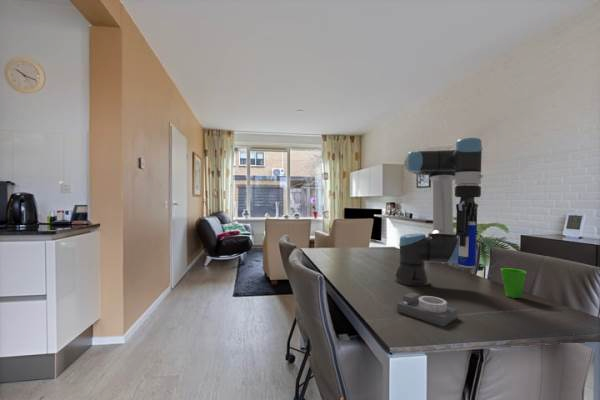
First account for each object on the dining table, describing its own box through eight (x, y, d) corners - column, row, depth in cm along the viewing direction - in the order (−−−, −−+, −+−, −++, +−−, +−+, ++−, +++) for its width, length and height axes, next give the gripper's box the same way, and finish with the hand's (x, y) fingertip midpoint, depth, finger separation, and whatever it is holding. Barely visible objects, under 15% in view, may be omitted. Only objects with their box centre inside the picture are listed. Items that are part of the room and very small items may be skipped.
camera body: (396, 311, 103) (397, 295, 103) (412, 304, 110) (412, 290, 110) (443, 326, 91) (443, 309, 91) (457, 317, 98) (457, 301, 98)
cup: (531, 301, 116) (532, 273, 116) (506, 299, 118) (506, 272, 118) (519, 294, 125) (519, 268, 125) (495, 292, 127) (496, 267, 127)
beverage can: (454, 264, 99) (455, 220, 99) (468, 264, 100) (469, 220, 100) (464, 268, 94) (465, 222, 94) (479, 268, 95) (480, 222, 95)
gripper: (471, 183, 88) (469, 260, 88) (488, 186, 100) (487, 253, 100) (445, 184, 94) (443, 256, 94) (464, 186, 106) (463, 250, 106)
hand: (466, 254), depth 97 cm, fingers closed on beverage can, 5 cm apart
